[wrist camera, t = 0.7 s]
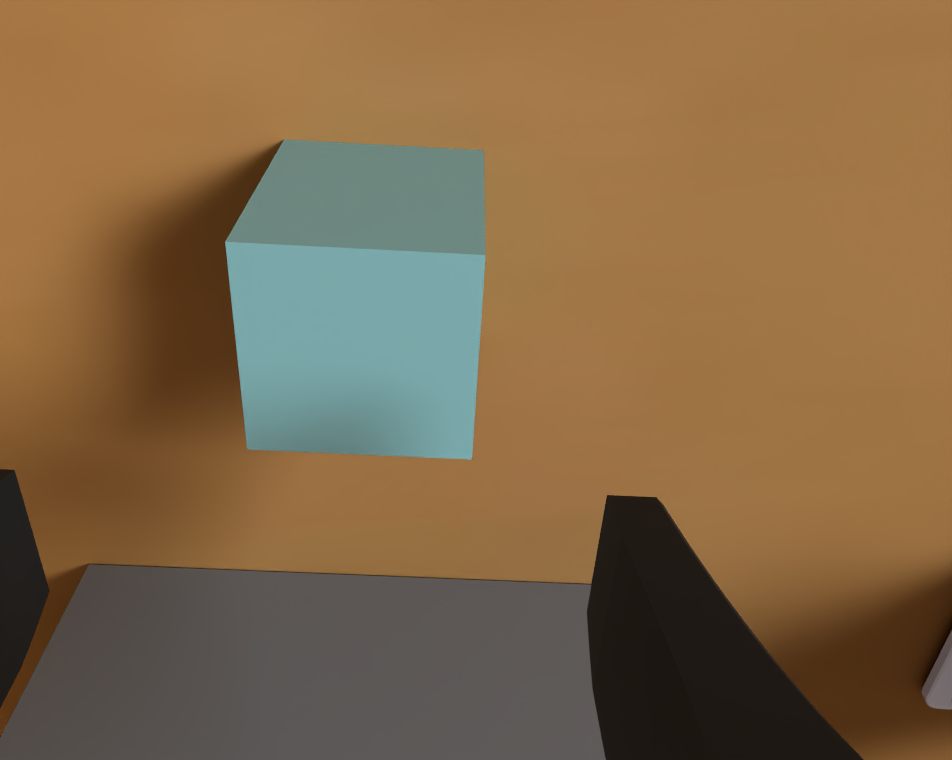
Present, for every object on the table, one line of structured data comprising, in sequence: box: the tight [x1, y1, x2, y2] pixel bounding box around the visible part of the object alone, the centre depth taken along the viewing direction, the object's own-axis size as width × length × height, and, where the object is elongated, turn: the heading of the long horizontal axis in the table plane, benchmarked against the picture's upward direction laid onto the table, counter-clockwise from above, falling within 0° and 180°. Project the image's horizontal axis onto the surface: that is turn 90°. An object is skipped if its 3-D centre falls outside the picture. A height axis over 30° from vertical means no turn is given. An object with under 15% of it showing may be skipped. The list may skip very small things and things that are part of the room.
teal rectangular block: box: [225, 140, 485, 459], centre depth 17 cm, size 4×4×5 cm
